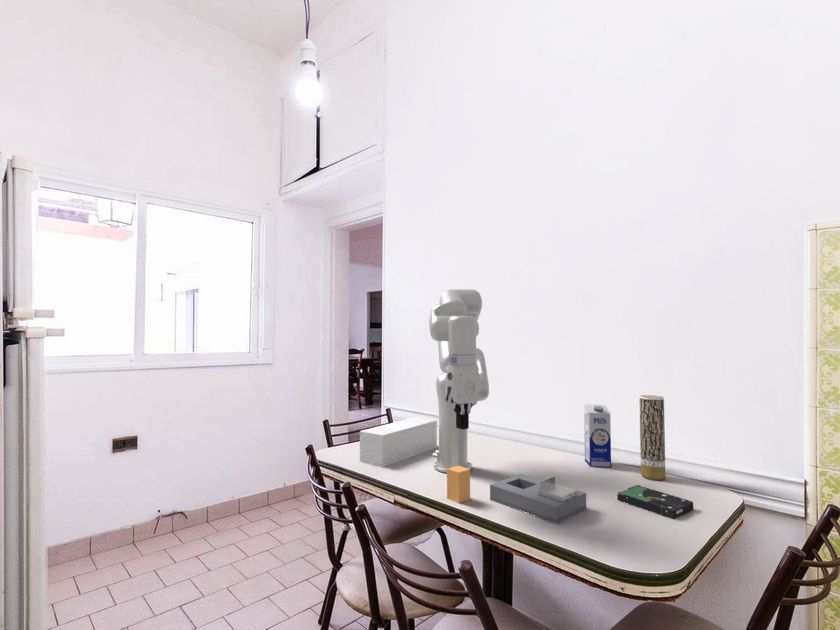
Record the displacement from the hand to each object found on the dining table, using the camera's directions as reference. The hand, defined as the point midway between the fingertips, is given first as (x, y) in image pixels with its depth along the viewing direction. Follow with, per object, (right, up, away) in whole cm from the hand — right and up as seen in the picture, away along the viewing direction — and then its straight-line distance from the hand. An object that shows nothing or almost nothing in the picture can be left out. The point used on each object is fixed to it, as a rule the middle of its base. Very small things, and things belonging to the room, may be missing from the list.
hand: (462, 428), depth 119 cm
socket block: (+19, -19, -4) cm, 27 cm away
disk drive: (+50, -20, -5) cm, 54 cm away
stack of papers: (-19, -21, +43) cm, 52 cm away
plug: (-1, -19, -1) cm, 19 cm away
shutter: (+23, -15, -9) cm, 29 cm away
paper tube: (+61, -20, +17) cm, 67 cm away
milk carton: (+50, -21, +31) cm, 62 cm away
